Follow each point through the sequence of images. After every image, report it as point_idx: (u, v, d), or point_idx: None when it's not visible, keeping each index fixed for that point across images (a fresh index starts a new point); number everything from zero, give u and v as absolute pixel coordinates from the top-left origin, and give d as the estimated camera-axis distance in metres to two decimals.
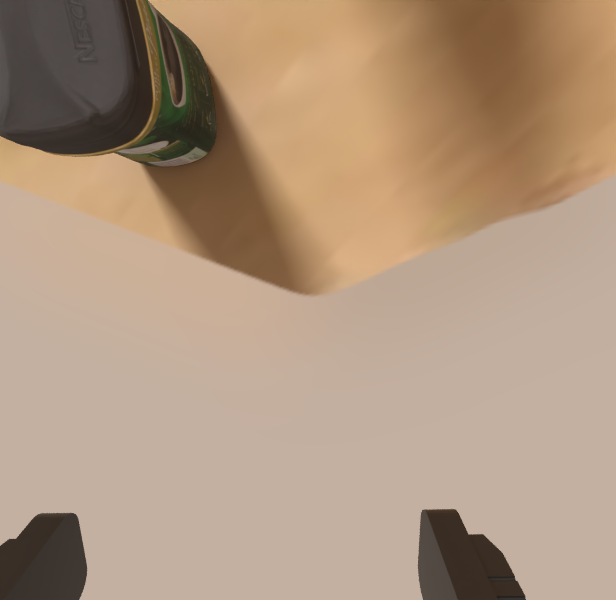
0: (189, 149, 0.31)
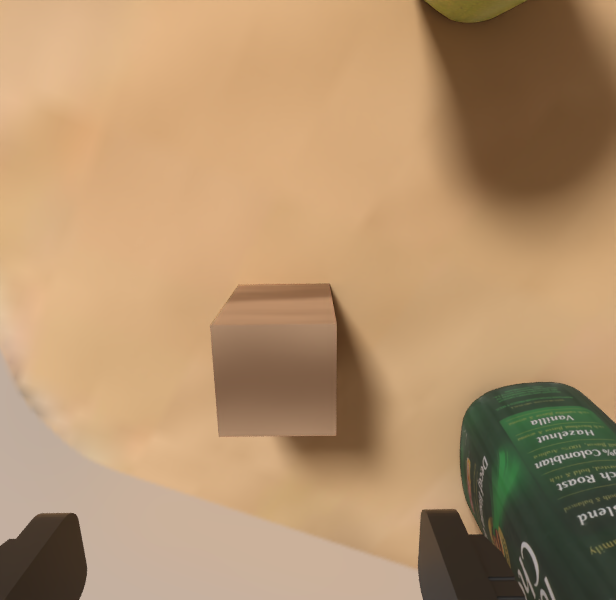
0: None
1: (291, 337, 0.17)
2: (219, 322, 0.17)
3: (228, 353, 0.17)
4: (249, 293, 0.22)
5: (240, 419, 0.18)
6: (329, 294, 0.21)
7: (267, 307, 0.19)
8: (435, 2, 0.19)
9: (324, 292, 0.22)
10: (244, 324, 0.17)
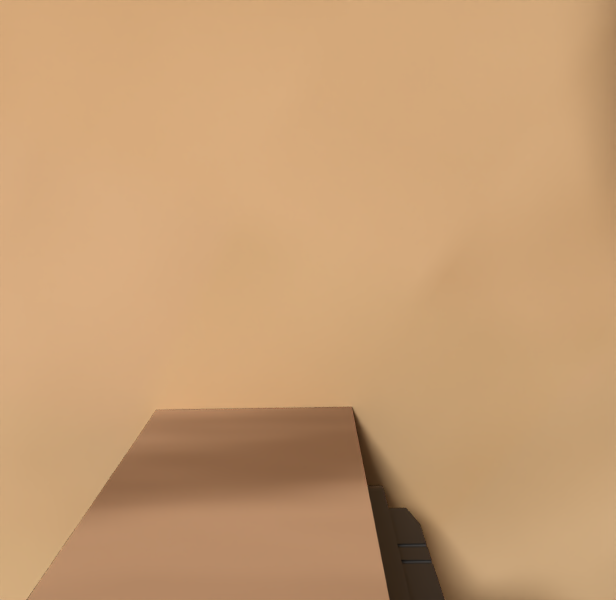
0: None
1: None
2: None
3: None
4: (165, 456, 0.09)
5: None
6: (358, 465, 0.09)
7: (185, 559, 0.07)
8: None
9: (345, 453, 0.09)
10: None
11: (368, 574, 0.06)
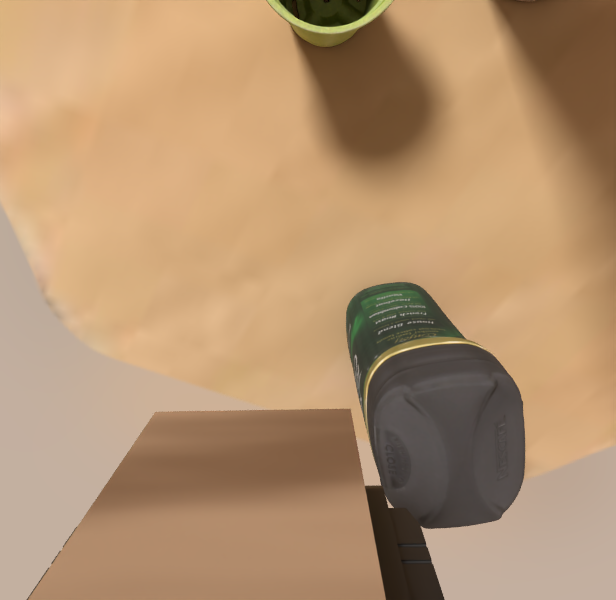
0: None
1: None
2: None
3: None
4: (164, 458, 0.09)
5: None
6: (356, 468, 0.09)
7: (184, 562, 0.07)
8: (300, 35, 0.31)
9: (343, 455, 0.09)
10: None
11: (365, 576, 0.06)
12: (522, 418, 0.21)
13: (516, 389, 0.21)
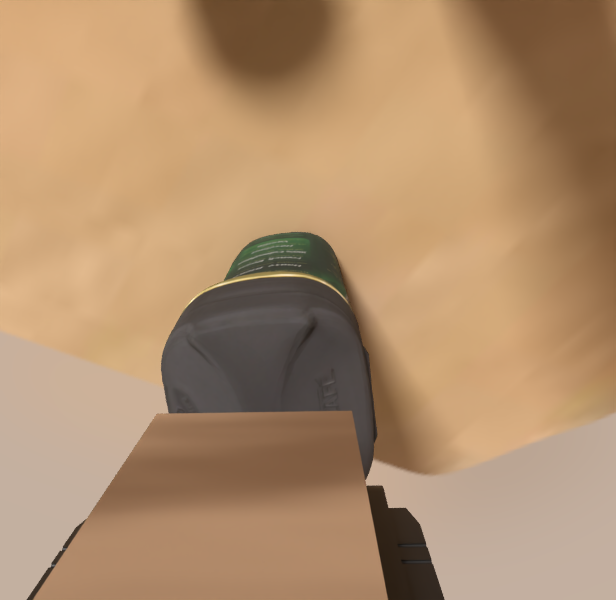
0: None
1: None
2: None
3: None
4: (165, 460, 0.09)
5: None
6: (358, 470, 0.09)
7: (187, 566, 0.07)
8: None
9: (345, 457, 0.09)
10: None
11: (368, 579, 0.06)
12: (363, 375, 0.15)
13: (350, 333, 0.15)
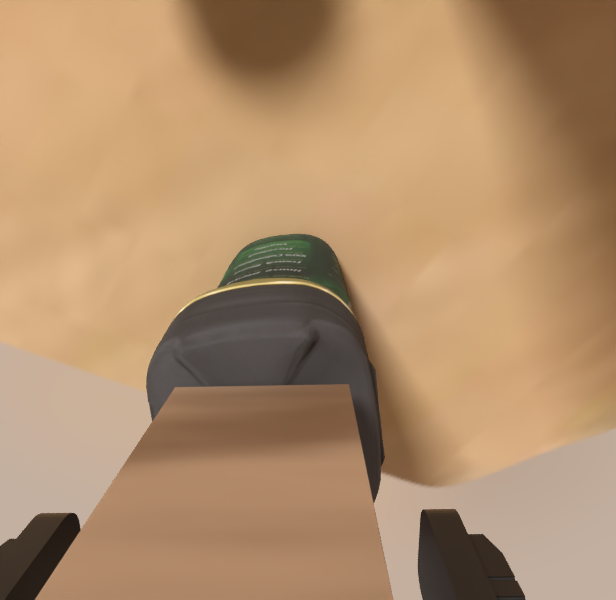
0: None
1: None
2: None
3: None
4: (186, 423, 0.10)
5: None
6: (354, 429, 0.10)
7: (210, 498, 0.08)
8: None
9: (342, 420, 0.11)
10: None
11: (361, 507, 0.08)
12: (369, 394, 0.14)
13: (356, 348, 0.13)
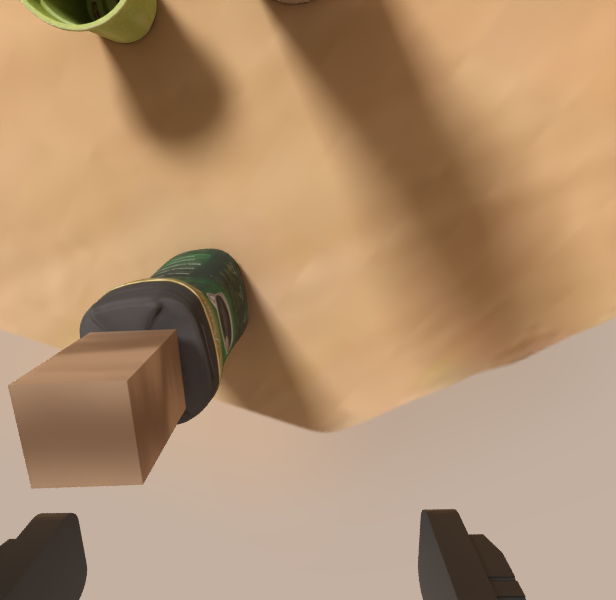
0: None
1: (86, 394, 0.18)
2: (21, 381, 0.18)
3: (29, 410, 0.18)
4: (87, 343, 0.23)
5: (49, 472, 0.19)
6: (161, 343, 0.22)
7: (84, 361, 0.20)
8: None
9: (159, 340, 0.23)
10: (40, 383, 0.18)
11: (140, 362, 0.20)
12: (197, 337, 0.26)
13: (186, 312, 0.26)
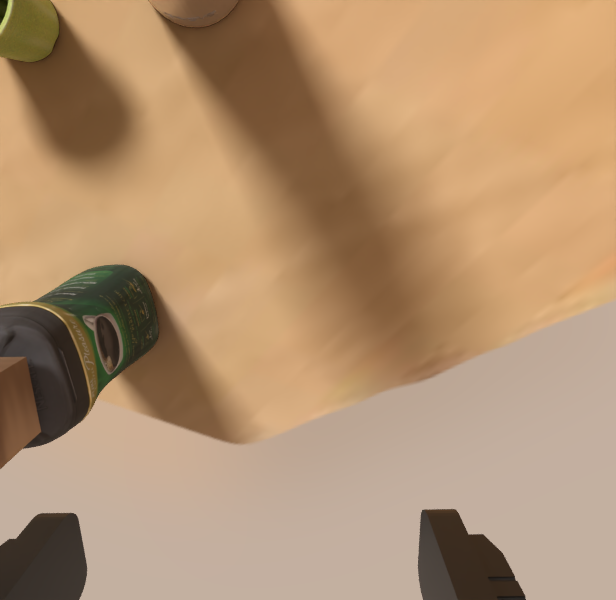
0: None
1: None
2: None
3: None
4: None
5: None
6: None
7: None
8: None
9: None
10: None
11: None
12: (54, 363, 0.27)
13: (41, 339, 0.27)
